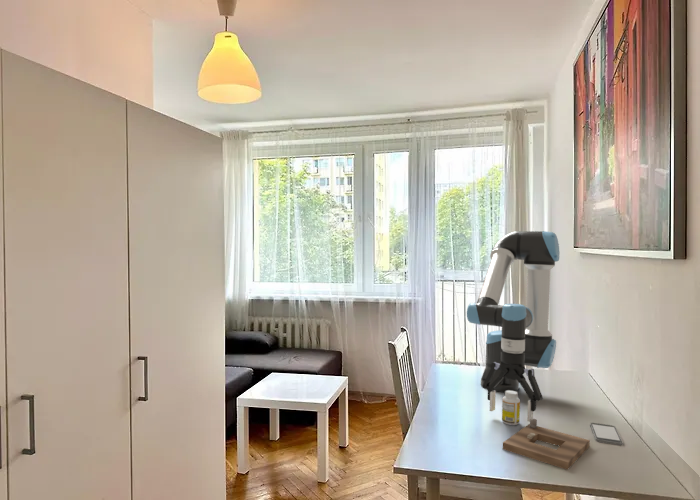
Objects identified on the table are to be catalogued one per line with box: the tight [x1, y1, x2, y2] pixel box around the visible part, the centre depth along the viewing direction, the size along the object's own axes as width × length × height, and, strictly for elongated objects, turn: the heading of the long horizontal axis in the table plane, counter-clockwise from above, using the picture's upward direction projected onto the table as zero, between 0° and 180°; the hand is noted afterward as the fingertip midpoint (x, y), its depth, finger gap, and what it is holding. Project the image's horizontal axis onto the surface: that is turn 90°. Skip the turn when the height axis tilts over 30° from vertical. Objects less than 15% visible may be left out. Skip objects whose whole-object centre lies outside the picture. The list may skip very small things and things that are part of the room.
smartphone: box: [589, 422, 624, 446], centre depth 154 cm, size 7×1×15 cm
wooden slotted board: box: [502, 418, 591, 471], centre depth 142 cm, size 20×18×4 cm
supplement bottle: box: [501, 390, 521, 426], centre depth 162 cm, size 6×6×10 cm
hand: (510, 415), depth 162 cm, fingers open, 12 cm apart
